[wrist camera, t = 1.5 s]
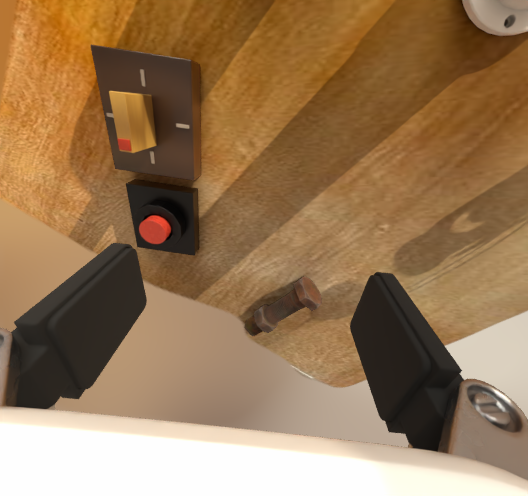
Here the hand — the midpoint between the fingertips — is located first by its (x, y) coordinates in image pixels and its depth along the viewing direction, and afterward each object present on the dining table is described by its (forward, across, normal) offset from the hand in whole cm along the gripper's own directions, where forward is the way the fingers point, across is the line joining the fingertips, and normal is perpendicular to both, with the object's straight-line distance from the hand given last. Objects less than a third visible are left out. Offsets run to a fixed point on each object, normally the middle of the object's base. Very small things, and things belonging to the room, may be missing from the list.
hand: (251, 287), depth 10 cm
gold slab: (+22, +14, -4) cm, 26 cm away
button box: (+25, +14, +9) cm, 30 cm away
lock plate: (+25, +14, -4) cm, 29 cm away
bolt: (+25, -4, +24) cm, 35 cm away
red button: (+21, +14, +9) cm, 27 cm away
